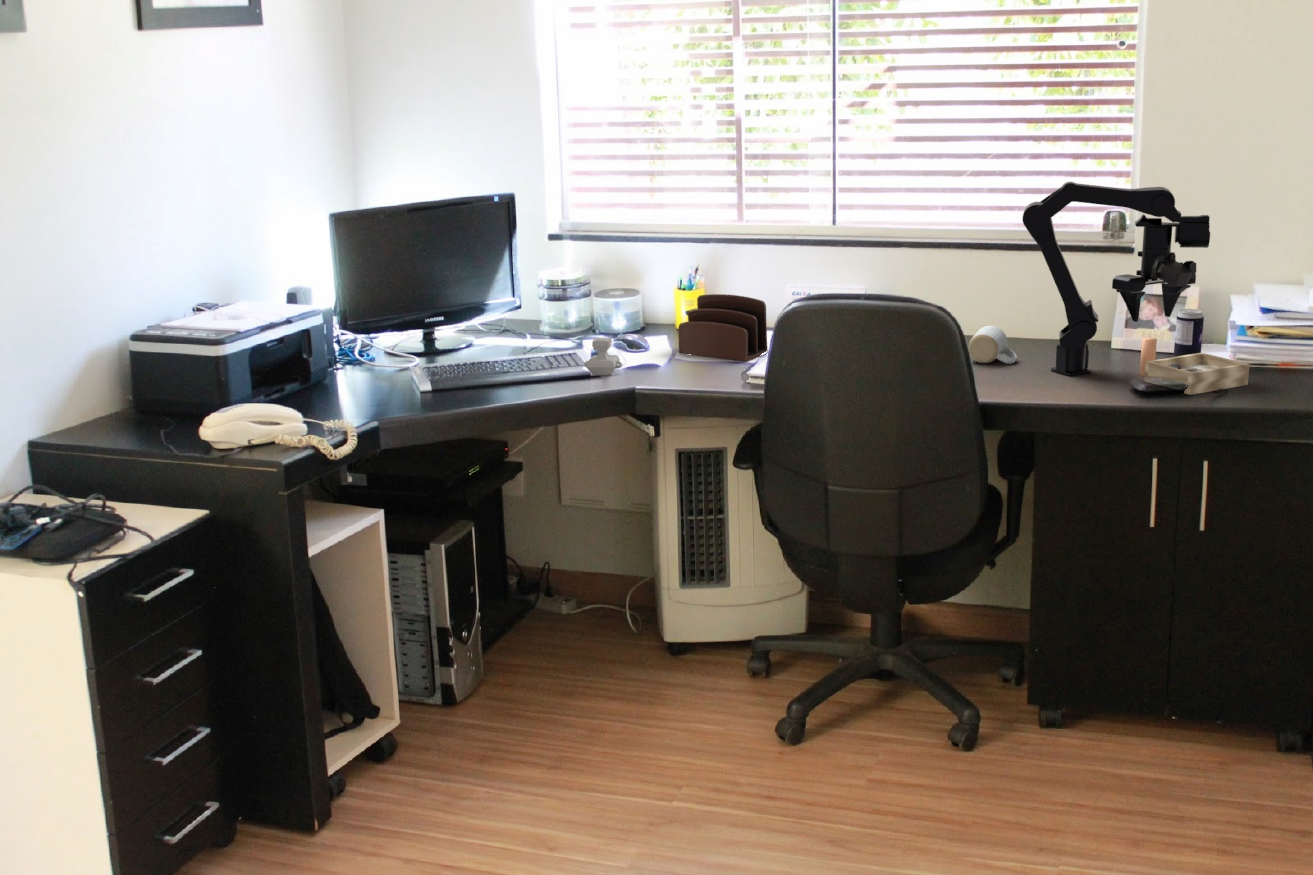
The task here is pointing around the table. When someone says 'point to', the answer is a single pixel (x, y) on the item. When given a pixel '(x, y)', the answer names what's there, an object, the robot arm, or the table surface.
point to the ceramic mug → (990, 346)
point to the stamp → (602, 358)
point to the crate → (1200, 372)
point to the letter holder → (725, 328)
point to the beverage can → (1188, 332)
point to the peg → (1147, 352)
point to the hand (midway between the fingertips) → (1151, 319)
